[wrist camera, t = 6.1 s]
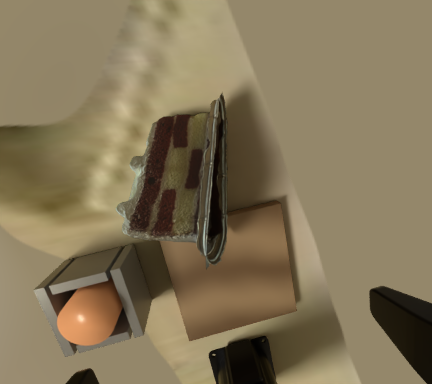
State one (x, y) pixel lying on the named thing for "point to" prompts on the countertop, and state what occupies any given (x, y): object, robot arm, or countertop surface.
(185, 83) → the countertop surface
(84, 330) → the brown egg
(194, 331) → the serving board
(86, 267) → the housing
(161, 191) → the chocolate cake
